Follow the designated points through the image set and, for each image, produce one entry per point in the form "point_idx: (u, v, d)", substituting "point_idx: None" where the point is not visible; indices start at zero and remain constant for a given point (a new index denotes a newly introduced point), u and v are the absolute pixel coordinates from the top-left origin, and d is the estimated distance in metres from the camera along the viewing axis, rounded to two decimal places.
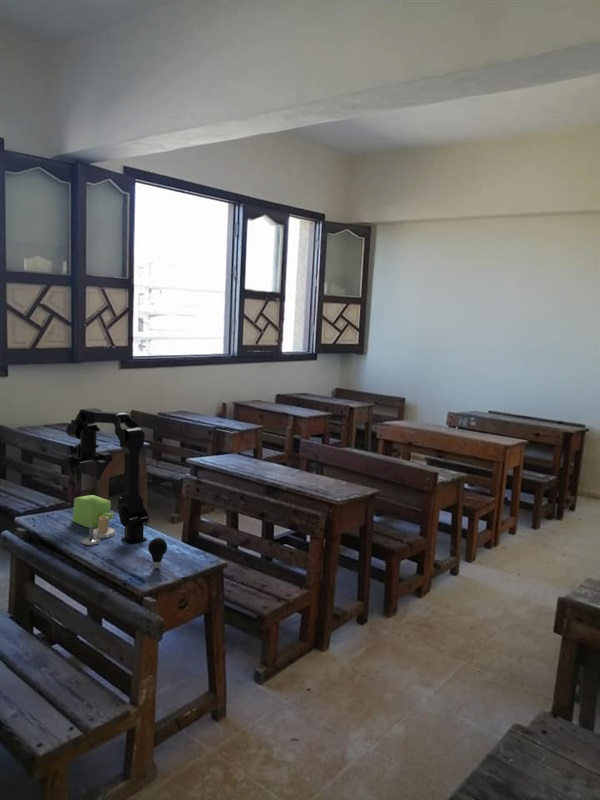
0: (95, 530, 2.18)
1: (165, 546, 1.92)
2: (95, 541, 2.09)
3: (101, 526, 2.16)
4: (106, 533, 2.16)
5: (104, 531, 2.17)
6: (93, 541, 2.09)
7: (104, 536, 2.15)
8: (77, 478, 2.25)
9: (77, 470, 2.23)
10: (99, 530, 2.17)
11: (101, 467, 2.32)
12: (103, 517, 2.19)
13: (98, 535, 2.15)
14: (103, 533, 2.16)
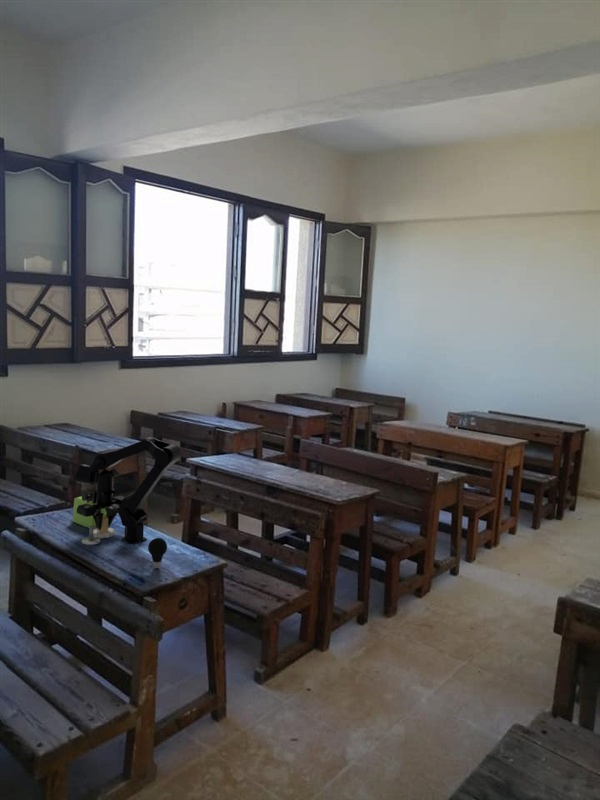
0: (95, 530, 2.18)
1: (165, 546, 1.92)
2: (95, 541, 2.09)
3: (101, 526, 2.16)
4: (106, 533, 2.16)
5: (104, 531, 2.17)
6: (93, 541, 2.09)
7: (104, 536, 2.15)
8: (100, 524, 2.15)
9: (100, 516, 2.13)
10: (99, 530, 2.17)
11: (111, 514, 2.18)
12: (103, 517, 2.19)
13: (98, 535, 2.15)
14: (103, 533, 2.16)
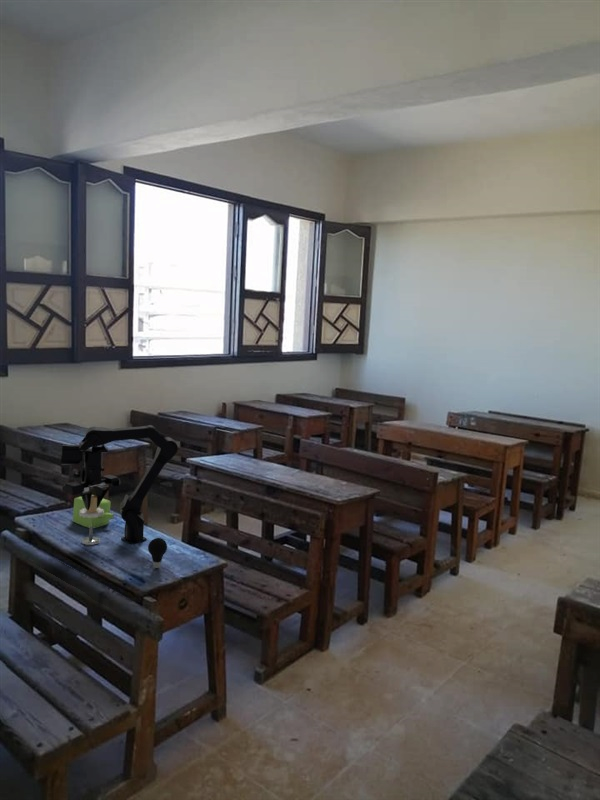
0: (83, 510, 2.09)
1: (165, 546, 1.92)
2: (95, 541, 2.09)
3: None
4: (95, 513, 2.07)
5: (93, 511, 2.08)
6: (93, 541, 2.09)
7: (92, 516, 2.06)
8: (88, 503, 2.06)
9: (88, 495, 2.04)
10: (87, 510, 2.08)
11: (100, 493, 2.09)
12: (92, 496, 2.09)
13: (86, 515, 2.06)
14: (91, 513, 2.07)
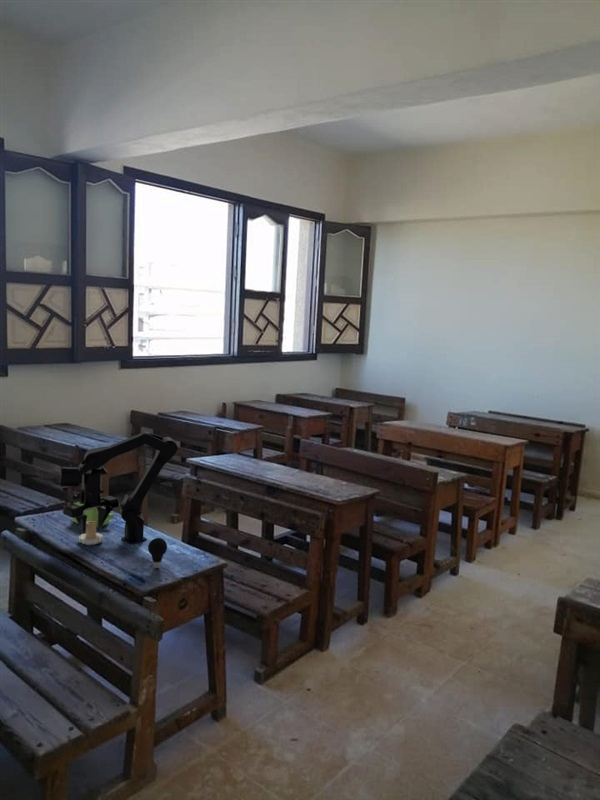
0: (82, 536, 2.10)
1: (165, 546, 1.92)
2: None
3: (89, 531, 2.08)
4: (94, 539, 2.08)
5: (92, 537, 2.09)
6: None
7: (92, 542, 2.07)
8: (83, 526, 2.06)
9: (84, 518, 2.04)
10: (87, 536, 2.09)
11: (103, 514, 2.11)
12: (91, 522, 2.11)
13: (85, 541, 2.07)
14: (91, 539, 2.08)
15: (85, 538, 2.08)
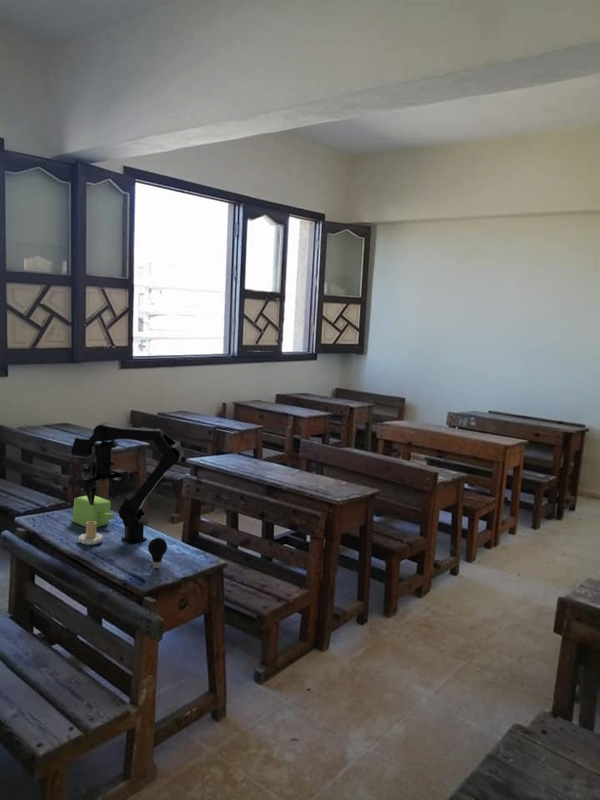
0: (82, 536, 2.10)
1: (165, 546, 1.92)
2: None
3: (89, 531, 2.08)
4: (94, 539, 2.08)
5: (92, 537, 2.09)
6: None
7: (92, 542, 2.07)
8: (92, 498, 2.08)
9: (93, 490, 2.06)
10: (87, 536, 2.09)
11: (117, 485, 2.16)
12: (91, 522, 2.11)
13: (85, 541, 2.07)
14: (91, 539, 2.08)
15: (85, 538, 2.08)
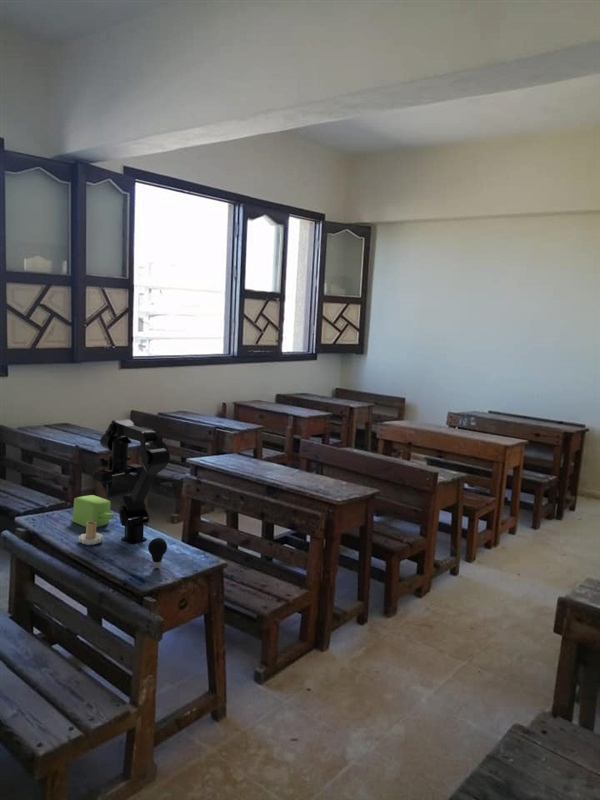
0: (82, 536, 2.10)
1: (165, 546, 1.92)
2: None
3: (89, 531, 2.08)
4: (94, 539, 2.08)
5: (92, 537, 2.09)
6: None
7: (92, 542, 2.07)
8: (109, 492, 2.17)
9: (109, 483, 2.15)
10: (87, 536, 2.09)
11: (133, 480, 2.24)
12: (91, 522, 2.11)
13: (85, 541, 2.07)
14: (91, 539, 2.08)
15: (85, 538, 2.08)
